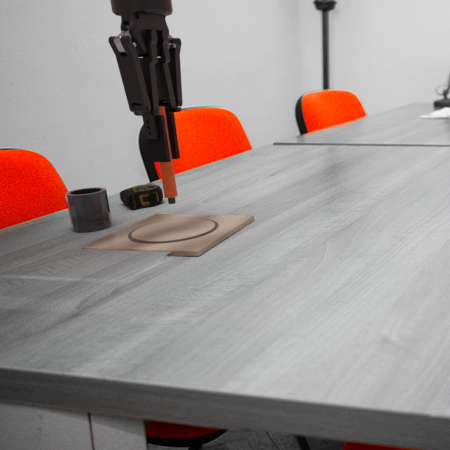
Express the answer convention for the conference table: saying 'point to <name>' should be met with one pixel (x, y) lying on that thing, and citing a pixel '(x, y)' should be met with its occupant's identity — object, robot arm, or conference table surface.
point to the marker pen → (168, 169)
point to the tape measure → (142, 196)
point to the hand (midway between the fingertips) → (165, 159)
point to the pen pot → (88, 209)
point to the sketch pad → (173, 234)
